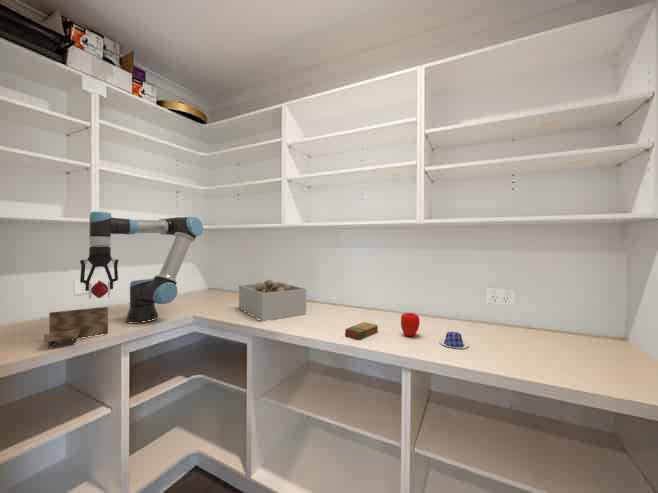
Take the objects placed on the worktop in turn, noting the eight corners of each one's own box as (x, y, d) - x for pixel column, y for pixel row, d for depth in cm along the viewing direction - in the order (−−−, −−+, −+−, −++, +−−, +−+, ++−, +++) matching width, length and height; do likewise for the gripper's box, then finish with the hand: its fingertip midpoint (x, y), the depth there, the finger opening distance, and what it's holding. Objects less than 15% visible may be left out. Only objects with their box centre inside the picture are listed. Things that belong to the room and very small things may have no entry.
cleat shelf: (79, 338, 129) (79, 324, 129) (77, 345, 120) (77, 330, 120) (49, 343, 123) (49, 328, 123) (44, 350, 114) (44, 334, 114)
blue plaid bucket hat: (461, 340, 131) (461, 329, 131) (473, 350, 119) (474, 338, 119) (435, 340, 131) (435, 328, 131) (444, 349, 119) (444, 337, 119)
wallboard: (107, 333, 136) (107, 306, 136) (107, 334, 134) (107, 307, 134) (50, 341, 124) (50, 312, 124) (49, 343, 123) (49, 313, 122)
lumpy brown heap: (296, 319, 163) (296, 284, 163) (251, 318, 165) (252, 283, 165) (306, 305, 201) (306, 276, 201) (269, 304, 203) (270, 276, 202)
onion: (109, 296, 131) (109, 279, 131) (105, 298, 126) (105, 280, 126) (94, 297, 129) (94, 279, 129) (88, 299, 124) (89, 281, 124)
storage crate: (278, 303, 206) (278, 281, 206) (306, 314, 175) (306, 288, 175) (238, 309, 188) (239, 285, 188) (262, 322, 158) (262, 293, 158)
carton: (378, 333, 141) (378, 324, 141) (359, 341, 129) (359, 332, 129) (364, 329, 146) (364, 321, 146) (344, 337, 135) (344, 328, 134)
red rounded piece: (416, 339, 130) (416, 316, 130) (398, 336, 135) (398, 313, 135) (421, 334, 138) (421, 312, 138) (403, 331, 142) (403, 310, 142)
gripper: (125, 246, 136) (124, 294, 136) (72, 245, 125) (72, 298, 125) (126, 246, 130) (125, 296, 130) (71, 246, 119) (70, 301, 119)
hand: (99, 297), depth 128 cm, fingers closed on onion, 6 cm apart
